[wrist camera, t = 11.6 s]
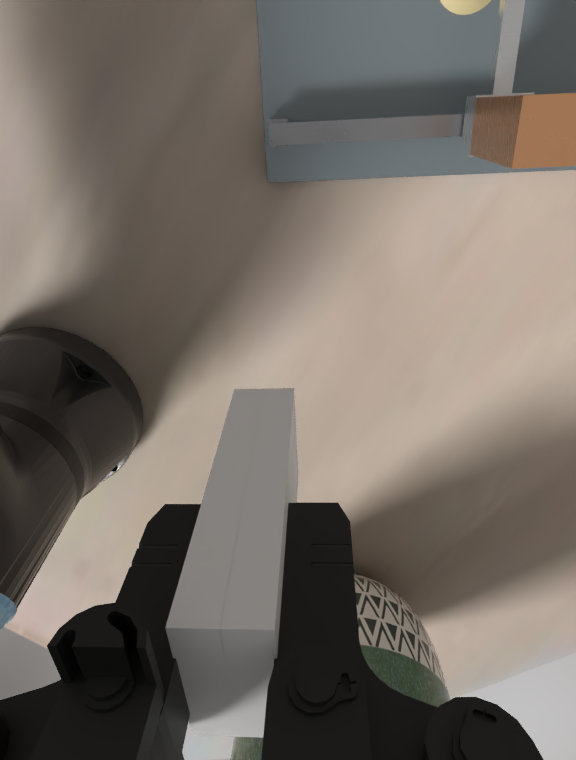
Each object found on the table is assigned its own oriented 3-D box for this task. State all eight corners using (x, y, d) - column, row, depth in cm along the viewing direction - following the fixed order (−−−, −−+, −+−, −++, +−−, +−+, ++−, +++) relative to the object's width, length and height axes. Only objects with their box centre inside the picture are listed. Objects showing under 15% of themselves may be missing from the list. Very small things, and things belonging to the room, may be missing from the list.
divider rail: (272, 158, 33) (265, 165, 29) (261, -24, 29) (252, -46, 24) (740, 136, 31) (805, 141, 27) (809, -63, 27) (899, -93, 22)
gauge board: (269, 180, 35) (267, 182, 34) (252, -86, 28) (250, -94, 27) (724, 160, 33) (739, 162, 32) (824, -131, 26) (847, -142, 25)
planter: (318, 501, 49) (318, 750, 30) (468, 584, 53) (550, 845, 34) (219, 607, 57) (171, 853, 38) (356, 670, 61) (373, 919, 43)
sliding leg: (451, 150, 32) (511, 171, 22) (470, -40, 27) (556, -122, 18) (499, 148, 32) (582, 168, 22) (527, -45, 27) (646, -130, 17)
